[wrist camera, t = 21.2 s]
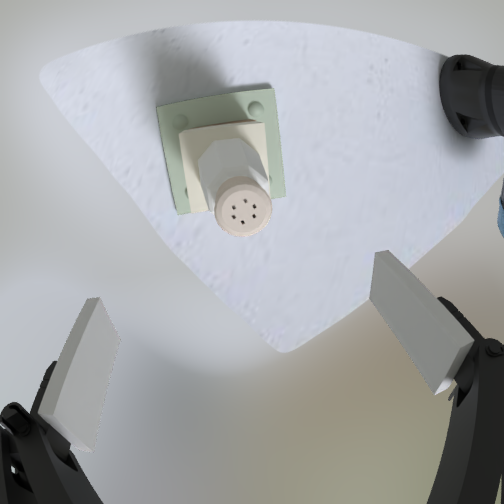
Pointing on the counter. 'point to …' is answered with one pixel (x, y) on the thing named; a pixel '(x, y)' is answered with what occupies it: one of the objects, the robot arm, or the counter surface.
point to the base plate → (213, 112)
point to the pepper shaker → (235, 187)
